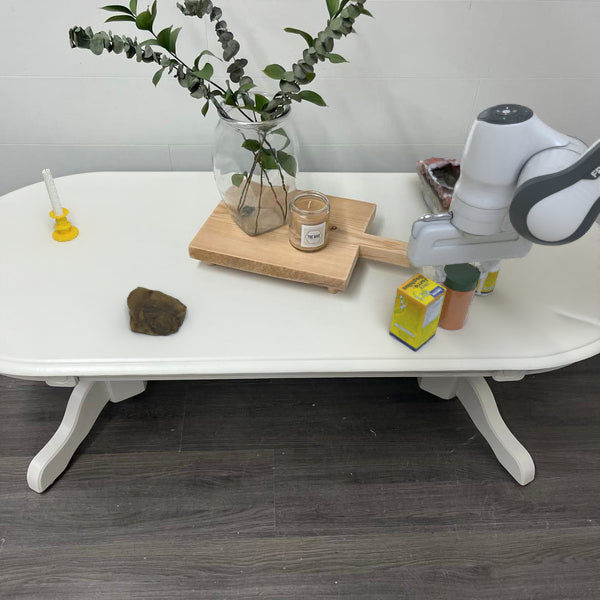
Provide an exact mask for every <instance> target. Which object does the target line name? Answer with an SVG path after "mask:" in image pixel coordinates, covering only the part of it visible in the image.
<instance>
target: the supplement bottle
mask: <svg viewBox="0 0 600 600" xmlns="http://www.w3.org/2000/svg"><path fill="white" fill-rule="evenodd" d="M483 262H484V261H482V262H473V264H472V265H473V266H474V267H476V266H479V265H481V264H482V263H483ZM501 267H502V265H501V260H499V261H498V264H497V265H496V266H495V267H494V268H492V269H491V270H490V271H489V272H488V275H487V278H485V279H479V281H478V285H477V287H476V290H475V294H474V295H477V296H482V297H484V296H489V295H491V294H492V293H493V291H494V289H495V286H496V283H497V280H498V276H499V273H500V270H501Z"/></svg>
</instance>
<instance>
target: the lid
mask: <svg viewBox="0 0 600 600" xmlns="http://www.w3.org/2000/svg"><path fill="white" fill-rule="evenodd" d="M473 265H474V264H471V263H461V264H450V265H444V267H443V269H444V271H445V273H446V274H447V279H446V282H444V284H445V285H446V286H448V287H449V288H451V289H453V290H457V291H470V290H473V289H474V288H475V287H477V285H478V281H479V278H480V273H479V271H478V270H477V268H476V267H474V266H473Z"/></svg>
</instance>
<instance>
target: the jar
mask: <svg viewBox="0 0 600 600" xmlns="http://www.w3.org/2000/svg"><path fill="white" fill-rule="evenodd" d="M439 285H441V286H442V287H444V288H446V294H445V298H444V302H443V306H442V310H441V314H440V318H439V321H438V325H437V327H440V328H441V329H443V330H448V331H457V330H460V329H462V328H463V327H465V325H466V323H467V319H468V317H469V313H470V310H471V306H472V304H473V300H474V296H475V295H476V294H475V290H476V287H475V288H474V289H473V290H470V291H457V290H453V289H451V288H449V287H448V286H446V285H445V284H444V283H439Z"/></svg>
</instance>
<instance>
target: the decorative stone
mask: <svg viewBox="0 0 600 600" xmlns="http://www.w3.org/2000/svg"><path fill="white" fill-rule="evenodd" d="M126 306H127V307H128V310H129V317H130V319H129V327H130V331H132V332H136V333H144V334H147V335H149V336H160V337H161V336H169V335H170V334H172V333H174V332H178V331H179V329H180V327H181V326H182V324H183V323H184V320H185V319H186V314H187V309H188V306H186V304H184V303H183V302H182V301H181V300H179V299H178V298H176V297H174V296H172V295H170V294H167V293H164V292H163V291H160V290H155V289H149V288H147V287H143V286H137V287H135V288H134V289H132V290H131V291H130V292H129V294H128V296H127V298H126Z"/></svg>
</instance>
